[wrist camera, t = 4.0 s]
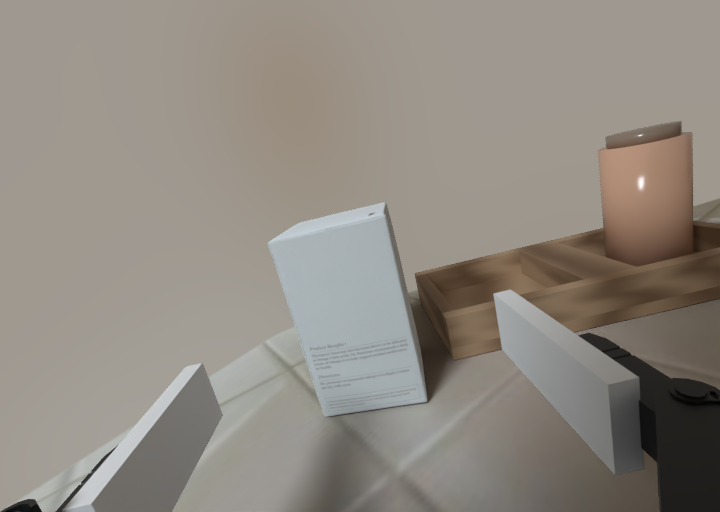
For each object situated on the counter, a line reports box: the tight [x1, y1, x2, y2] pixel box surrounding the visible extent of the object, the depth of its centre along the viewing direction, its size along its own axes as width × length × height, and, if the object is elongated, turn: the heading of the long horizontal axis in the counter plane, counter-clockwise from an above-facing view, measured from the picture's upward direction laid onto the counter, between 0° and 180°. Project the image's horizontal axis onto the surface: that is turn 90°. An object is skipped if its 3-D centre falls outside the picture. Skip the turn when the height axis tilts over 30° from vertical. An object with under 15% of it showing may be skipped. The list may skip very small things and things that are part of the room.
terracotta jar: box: [598, 121, 693, 267], centre depth 29 cm, size 6×6×12 cm
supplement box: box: [268, 202, 428, 417], centre depth 24 cm, size 7×7×13 cm
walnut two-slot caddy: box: [415, 221, 720, 360], centre depth 31 cm, size 26×12×4 cm, turn 93°
